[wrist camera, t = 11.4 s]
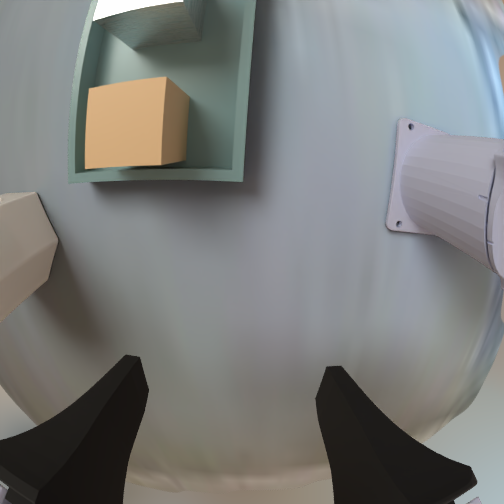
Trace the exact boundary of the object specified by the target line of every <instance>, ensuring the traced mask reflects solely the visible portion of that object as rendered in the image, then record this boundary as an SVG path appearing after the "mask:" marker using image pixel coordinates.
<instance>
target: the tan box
mask: <svg viewBox="0 0 504 504" xmlns="http://www.w3.org/2000/svg"><path fill="white" fill-rule="evenodd" d="M189 101H190V97H189V96H188V95H187V94H186V93H185V92H184V91H183V90H182V89H180V88H179V87H178V86H177V85H176V84H175V83H174V82H172V81H171V80H170V79H169V78H168V77H157V78H148V79H140V80H132V81H126V82H120V83H114V84H109V85H103V86H99V87H94V88H89V94H88V103H87V115H86V133H85V169H92V168H105V167H122V166H145V165H164V164H169V163H174V162H180V161H185V160H186V150H187V130H188V114H189Z"/></svg>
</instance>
